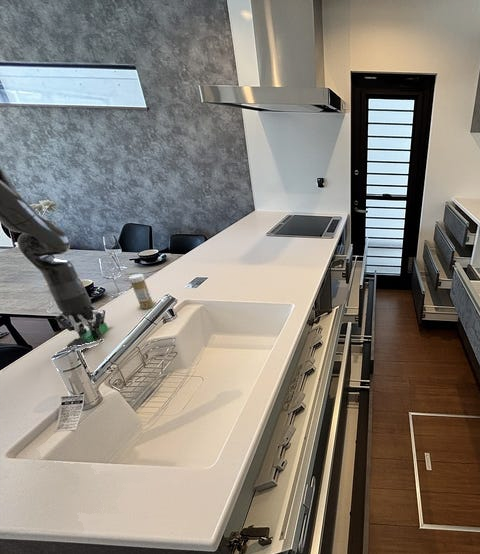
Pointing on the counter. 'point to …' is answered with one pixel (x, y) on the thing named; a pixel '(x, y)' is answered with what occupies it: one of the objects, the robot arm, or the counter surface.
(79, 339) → the marker
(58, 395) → the counter surface
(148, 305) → the sprinkles bottle
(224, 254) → the counter surface
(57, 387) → the counter surface
